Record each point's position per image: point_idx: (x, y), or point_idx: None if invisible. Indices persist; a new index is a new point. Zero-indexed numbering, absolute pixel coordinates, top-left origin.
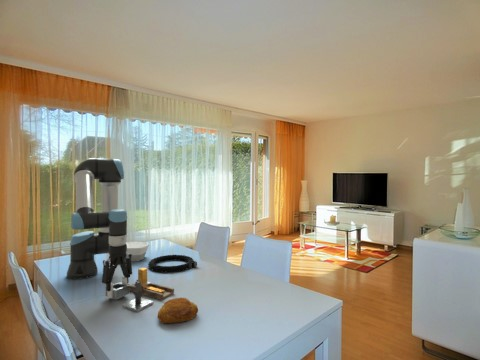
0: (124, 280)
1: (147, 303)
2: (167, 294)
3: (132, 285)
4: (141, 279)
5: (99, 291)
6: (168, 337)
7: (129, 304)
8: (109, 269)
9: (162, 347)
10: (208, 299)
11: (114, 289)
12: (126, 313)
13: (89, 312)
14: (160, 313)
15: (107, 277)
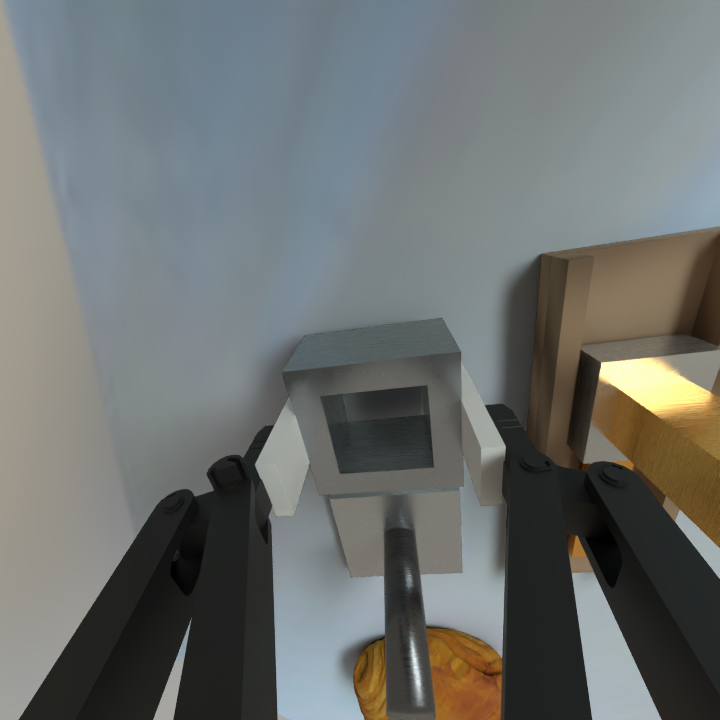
0: (471, 457)
1: (425, 569)
2: (576, 570)
3: (577, 347)
4: (649, 463)
5: (355, 71)
6: (323, 690)
7: (358, 521)
8: (182, 704)
9: (286, 698)
10: (622, 666)
11: (319, 470)
12: (311, 544)
13: (167, 418)
14: (359, 694)
15: (176, 620)
